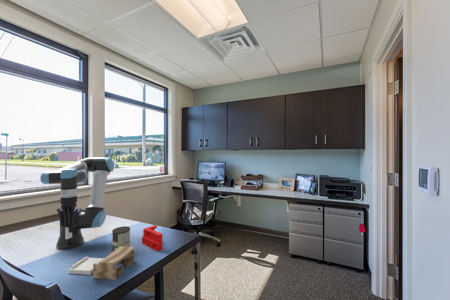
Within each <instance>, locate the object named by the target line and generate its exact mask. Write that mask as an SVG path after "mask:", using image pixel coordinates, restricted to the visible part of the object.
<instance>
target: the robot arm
mask: <svg viewBox="0 0 450 300" xmlns="http://www.w3.org/2000/svg"><path fill="white" fill-rule="evenodd" d="M114 165H115V164H114V160H113V159H112V158H111V157H110V156H109V157H106V156H104V157H103V156H100V157H98V156H97V157H94V156H93V157H91V156H90V157H86V158H82V159H78V160H77V161H74V163H72V164H70V165H67V166H65V167H61V168H58V169H57V170H51V171H43V172H42V173H41V174H40V178H39V179H40V183H42V184H43V185H59V184H60V200H59V202H60V205H61V206H60V207H59V208H56V212H57V213H58V217H59V236H58V238H57V242H56V244H55V246H56V247H55V248H56V249H57V250H61V251H62V250H69V249H73V248H76V247H79V246H80V245H82V244H83V243H84V242H85V238H84V236H83V233H82V230H83V229H96V228H101V227H102V226H103V224H104V222H105V221H106V217H107V212H106V210H105V208H104V207H103V202H104V196H105V193H106V192H105V191H106V188H107V187H106V186H107V180H108V176H110V174H111V172H113V171H114V169H115V166H114ZM88 173H92V174H93V175H94V178H93V181H92V186H91V191H90V196H89V201H88V205H87V206H86V207H85V208H84V211H82V209H81V208H80V207H78V205H77V203H78V185H79V184H80V183H81V184H82V183H84V182H85V181H87V179H89V178H88V177H89V174H88Z"/></svg>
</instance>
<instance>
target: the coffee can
mask: <svg viewBox="0 0 450 300" xmlns="http://www.w3.org/2000/svg"><path fill="white" fill-rule="evenodd" d="M111 232H112V233H111V234H112V237H111V238H112V252H113V251H114V249H115V248H118V247H120V246H122V247H131V242H130V241H131V227H130V226H127V225H126V226H119V227H116V228H113V229H112V231H111ZM112 252H111V253H112Z"/></svg>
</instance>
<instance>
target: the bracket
mask: <svg viewBox="0 0 450 300" xmlns="http://www.w3.org/2000/svg"><path fill="white" fill-rule="evenodd" d="M157 228H158V225H156V224H154V225H151V226H147V227H145V228H143V235H142V236H141V244H142V245H144V246H146V247H148V248H149V249H152V250H154V251H156V252H159V251H162V250H163V233H161V232H159V231H156V230H155V229H157Z"/></svg>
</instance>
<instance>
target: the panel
mask: <svg viewBox="0 0 450 300" xmlns="http://www.w3.org/2000/svg"><path fill="white" fill-rule="evenodd" d="M104 258H105V257H103V258H102V257H101V258H99V257H89V256H85V257H83V258H82V259H80V260H79V261H77V262H76V263H74V264H73V265H71V267H70V268H69V269H68V274H73V275H74V274H75V275H85V276H87V275H88V276H89V275H90V276H91V275H92V274H93V264H95V263H98V264H99V262H100V261H101V260H103V259H104Z"/></svg>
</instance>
